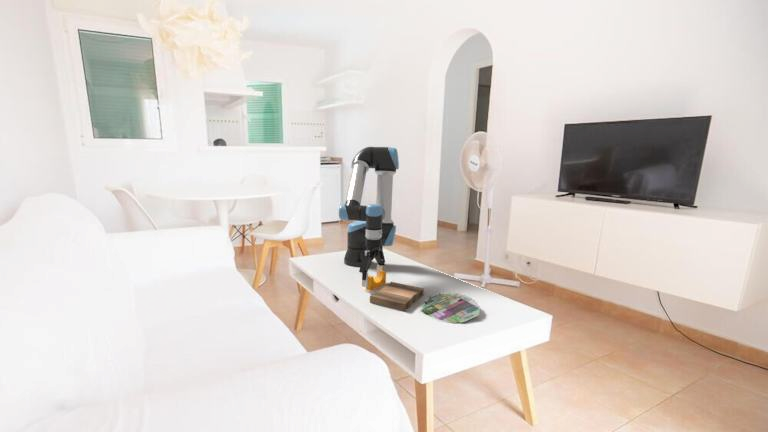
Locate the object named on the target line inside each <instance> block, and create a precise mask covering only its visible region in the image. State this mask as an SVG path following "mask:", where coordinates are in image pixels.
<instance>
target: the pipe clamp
mask: <svg viewBox="0 0 768 432" xmlns="http://www.w3.org/2000/svg"><path fill="white" fill-rule="evenodd" d="M386 279H387V271H386V270H383V269H382V270H381V271H379V276H377V275H376V276H375V277H374V276H372V275H368V287H365V290H367V291H369V292H371V291H373V290H376V289H378V288H380V287H383V286H385V285H387V280H386Z"/></svg>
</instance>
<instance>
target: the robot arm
mask: <svg viewBox="0 0 768 432" xmlns="http://www.w3.org/2000/svg"><path fill="white" fill-rule="evenodd" d="M398 154H399V153H398V149H397V148H396V147H390V146H366V147H364V148H362V149H360V150H359V151H358V152H357V153H356V154H355V156H354V157H353V159H352V161H351V174H350V179H349V184H348V189H347V192H346V193H347V194H346V197H345V198H346V199H345V203H344V204H340V205H339V208H338V217H339V220H342V221H347V222H348V221H352V222H350V223H349V224H348V225H347V237H346V238H347V243H346V245H347V249H346V252H345V254H344V257H343V258H344V259H343V263H344V265H346V266H347V265H348V266H351V267H359V271H358V272H359V273H361V286H362V287H364V288H366V287H368V276H369V268H370V267H371V264H372V262H373V260H374V259H375V261H376V263H377V265H376V277H377V276H379V271H381V270H383V266H385V265H386V260H385V256H384V250H383V247H391V246H393V245H394V241H395V238H396V237H395V236H396V231H397V230H396V229H397V225H395V224H394V223H395V222H394V221H393V219H392V209H393V207H392V203H393V188H394V187H393V185H394V183H393V182H394V181H393V180H394V175H395V174H396V172H397V170H399V168H400V164H399V163H400V162H399V155H398ZM370 169H374V173H376V177H377V179H376V200H375V202H376V203H370V204H367V205H361V203H362V198H363V194H364V188H365V183H366V179H367V178H366V177H367V173H368V172H369V171H370Z"/></svg>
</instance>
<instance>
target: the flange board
mask: <svg viewBox="0 0 768 432" xmlns="http://www.w3.org/2000/svg"><path fill="white" fill-rule="evenodd" d="M424 291H425V289H424V288H423V287H418V286H414V285H409V284H405V283H400V282H395V281H390V282H388V283H386V284H385V285H383V286H382V287H381V288H380V289H378V290H377V291H375V292H374V293H372V294H371V295H370V296H369V303H370V304H375V305H378V306H383V307H385V308H389V309H390V308H391V309H395V310H399V311H403V312H406V311H407V310H408V309H409V308H410V307H412V306H413V305H414V304H415V303H416V302H417V301H418V300H420V299H421V298H422V297H423V296H424V294H425V293H424ZM413 298H414V299H413Z"/></svg>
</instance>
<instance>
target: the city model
mask: <svg viewBox="0 0 768 432" xmlns="http://www.w3.org/2000/svg"><path fill="white" fill-rule="evenodd" d="M413 299H414V298H413ZM421 305H422V306H421V312H422V314H424V315H427V316H430V317H432V318H435V319H438V320H439V321H443V322H446V323H448V324H453V325H454V324H456V323H459V324H460V323H464V322H467V321H469V320H472V319H474V318H476V317H478V316H479V314H480V313H481V306H480V305H479V304H478V301H476V299H474V298H472V297H470V296H468V295H465V294H461V293H456V292H453V293H451V292H448V293H444V292H443V293H440V292H439V293H437V294H433V295H432V296H431V295H429V297H428V298H427V299H425V301H423V303H422V304H421Z"/></svg>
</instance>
